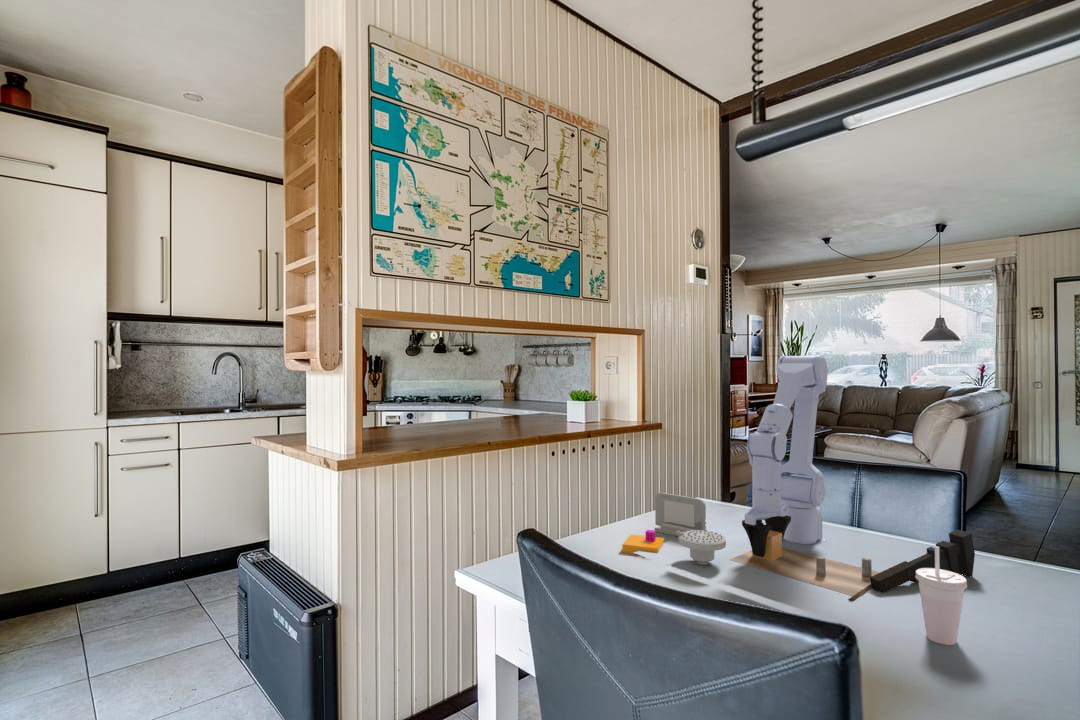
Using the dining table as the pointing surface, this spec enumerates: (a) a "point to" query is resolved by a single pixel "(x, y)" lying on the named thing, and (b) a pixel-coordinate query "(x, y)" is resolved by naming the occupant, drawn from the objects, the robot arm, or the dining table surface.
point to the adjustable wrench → (931, 562)
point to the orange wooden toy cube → (773, 546)
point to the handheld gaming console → (679, 513)
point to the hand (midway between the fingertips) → (767, 552)
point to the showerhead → (702, 544)
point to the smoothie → (941, 601)
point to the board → (808, 571)
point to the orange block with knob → (643, 543)
